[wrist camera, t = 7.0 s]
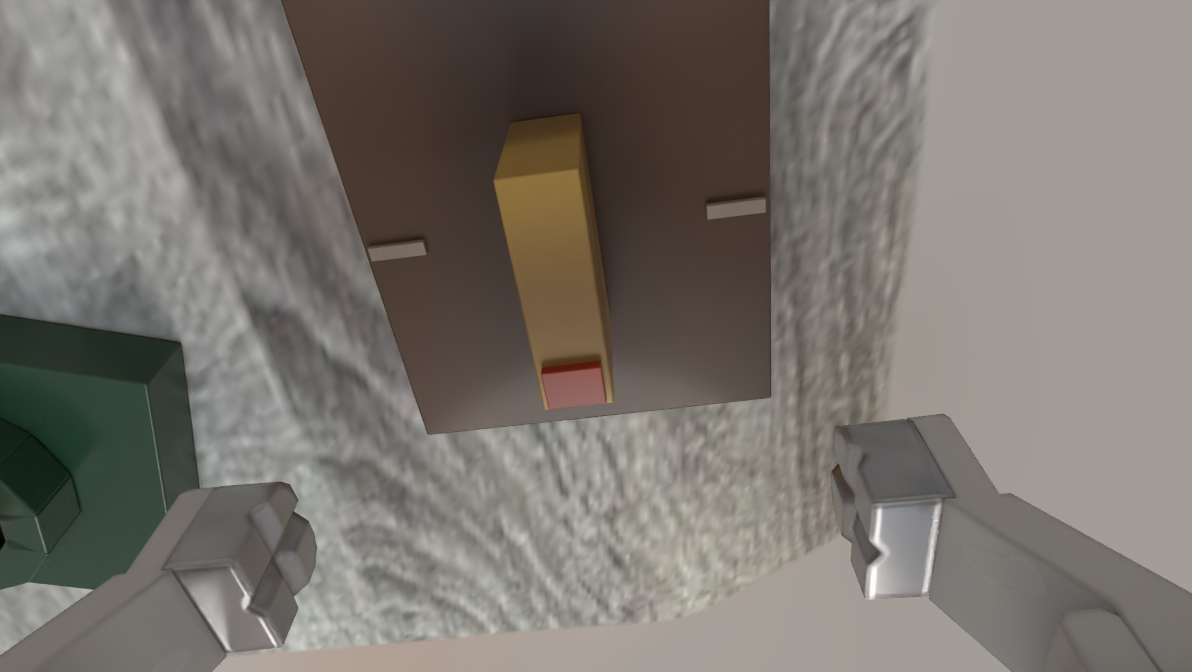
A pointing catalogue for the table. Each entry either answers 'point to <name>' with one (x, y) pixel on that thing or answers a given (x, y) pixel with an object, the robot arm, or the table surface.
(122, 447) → the button box
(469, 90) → the lock plate
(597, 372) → the lock knob
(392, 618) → the table surface
